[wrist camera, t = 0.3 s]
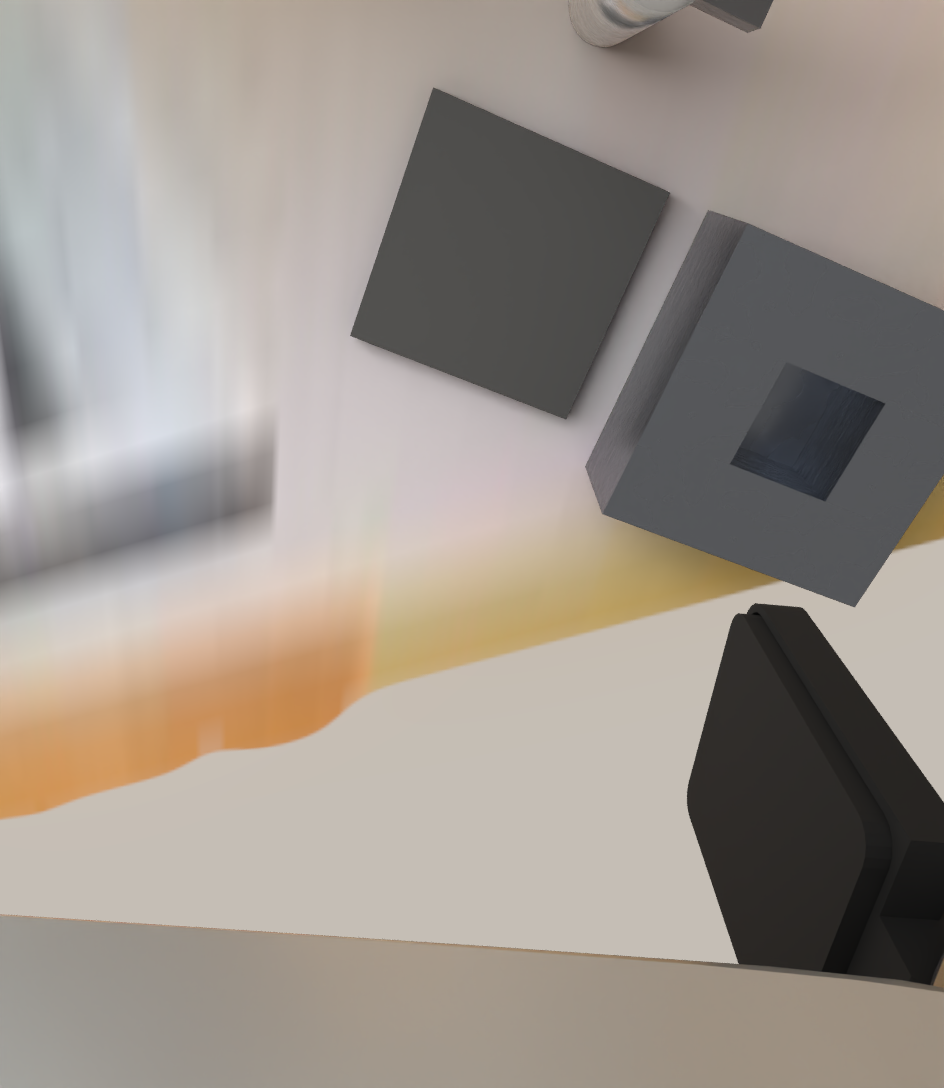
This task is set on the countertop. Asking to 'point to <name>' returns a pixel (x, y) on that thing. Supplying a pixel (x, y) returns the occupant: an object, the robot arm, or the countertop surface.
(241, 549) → the countertop surface
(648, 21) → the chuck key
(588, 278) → the rubber pad
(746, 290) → the block
